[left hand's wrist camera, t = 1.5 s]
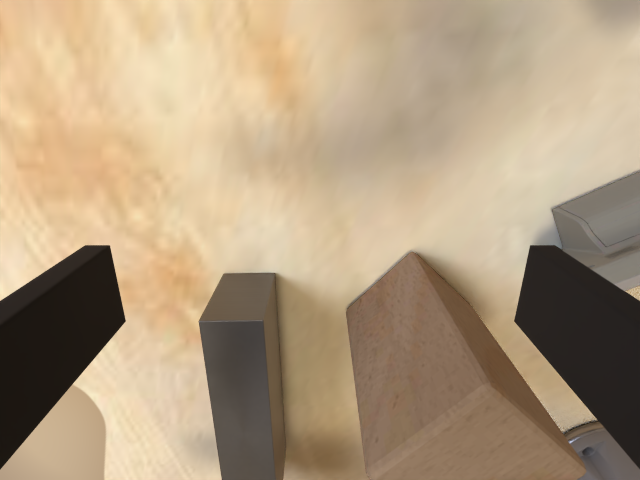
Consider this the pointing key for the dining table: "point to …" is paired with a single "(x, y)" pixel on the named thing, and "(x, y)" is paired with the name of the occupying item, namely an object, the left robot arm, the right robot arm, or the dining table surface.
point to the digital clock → (605, 231)
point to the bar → (245, 376)
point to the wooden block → (444, 390)
